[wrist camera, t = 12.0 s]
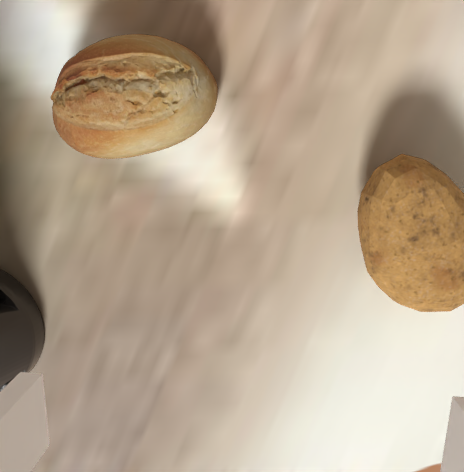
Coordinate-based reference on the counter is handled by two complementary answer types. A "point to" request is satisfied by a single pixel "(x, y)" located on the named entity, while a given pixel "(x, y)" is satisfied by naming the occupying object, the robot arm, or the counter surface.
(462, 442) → the robot arm
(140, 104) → the bread roll
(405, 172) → the potato
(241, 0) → the counter surface
